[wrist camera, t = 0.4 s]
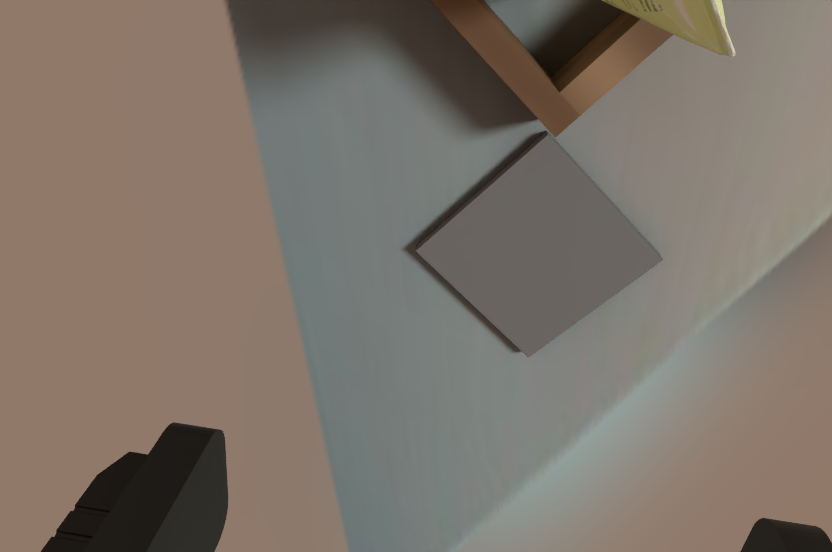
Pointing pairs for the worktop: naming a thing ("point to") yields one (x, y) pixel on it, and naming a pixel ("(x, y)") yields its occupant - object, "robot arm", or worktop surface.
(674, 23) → the tube
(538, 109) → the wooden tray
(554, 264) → the pad
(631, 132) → the worktop surface
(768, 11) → the worktop surface
